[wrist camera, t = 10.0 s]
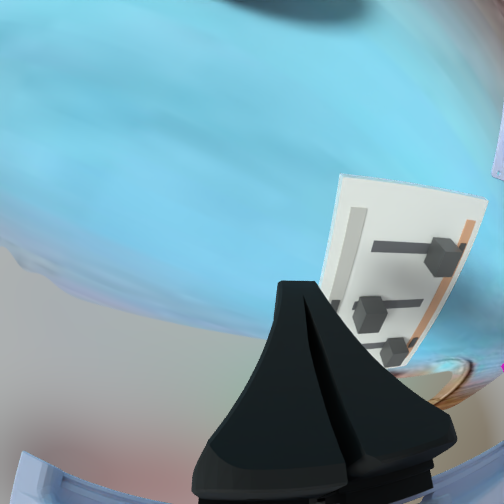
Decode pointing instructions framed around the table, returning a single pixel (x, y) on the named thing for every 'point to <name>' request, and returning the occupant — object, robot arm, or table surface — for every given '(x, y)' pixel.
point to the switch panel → (394, 253)
